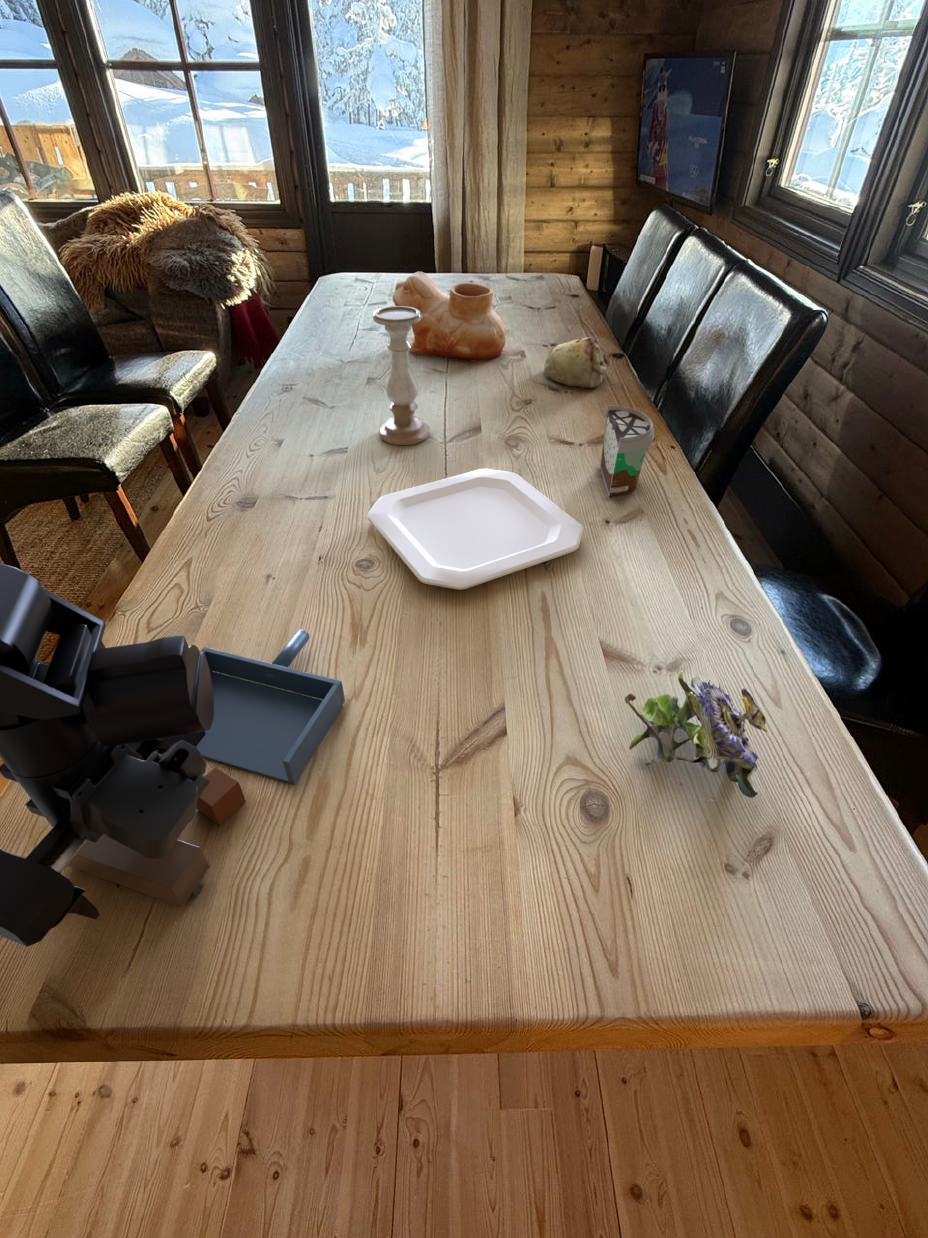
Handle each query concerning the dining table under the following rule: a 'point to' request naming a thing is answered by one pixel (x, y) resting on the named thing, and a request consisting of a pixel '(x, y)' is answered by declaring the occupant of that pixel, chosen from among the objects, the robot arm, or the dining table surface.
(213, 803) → the crumb
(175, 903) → the brown long block
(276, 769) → the dustpan
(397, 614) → the dining table surface
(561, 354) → the pastry
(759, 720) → the passion flower
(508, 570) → the plate
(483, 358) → the ceramic vessel
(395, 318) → the candle holder
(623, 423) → the food container
